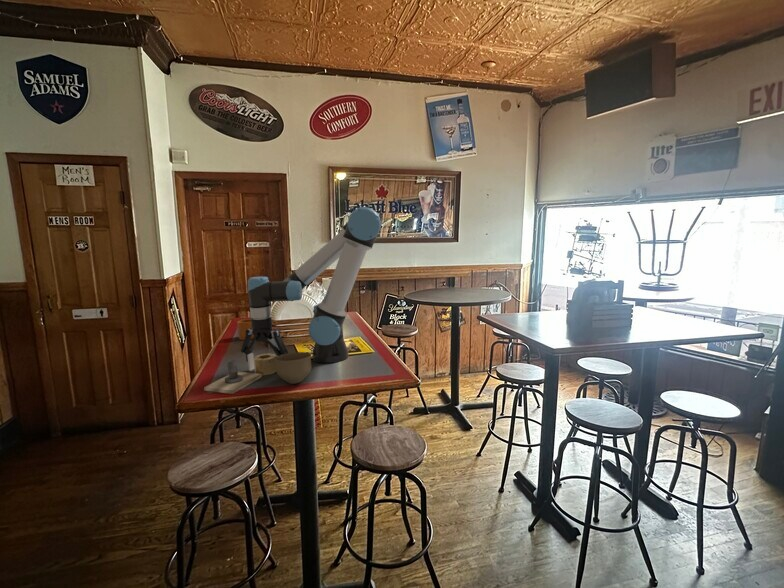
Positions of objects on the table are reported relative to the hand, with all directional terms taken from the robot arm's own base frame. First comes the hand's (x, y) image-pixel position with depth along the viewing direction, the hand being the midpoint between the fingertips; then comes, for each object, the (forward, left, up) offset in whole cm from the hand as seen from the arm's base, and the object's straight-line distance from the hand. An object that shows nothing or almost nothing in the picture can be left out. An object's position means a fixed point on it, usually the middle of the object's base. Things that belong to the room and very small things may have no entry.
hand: (265, 371), depth 159 cm
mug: (+39, -41, 0) cm, 57 cm away
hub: (+4, +13, 0) cm, 14 cm away
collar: (0, 0, 0) cm, 0 cm away
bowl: (-17, +6, 0) cm, 18 cm away
